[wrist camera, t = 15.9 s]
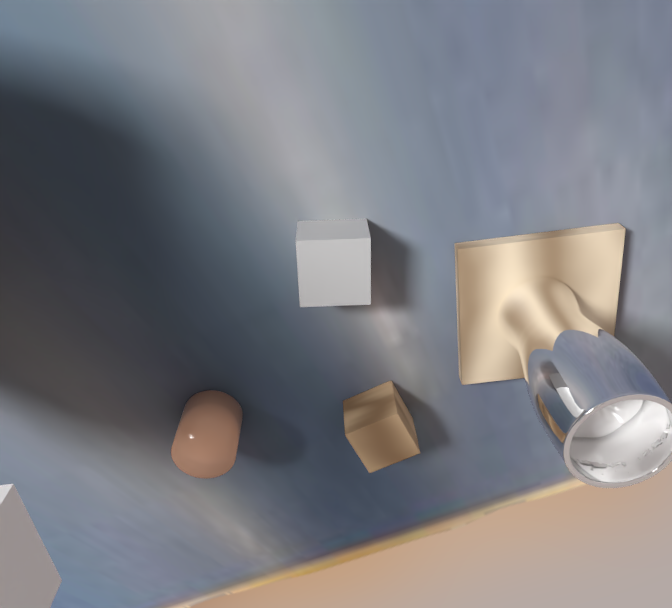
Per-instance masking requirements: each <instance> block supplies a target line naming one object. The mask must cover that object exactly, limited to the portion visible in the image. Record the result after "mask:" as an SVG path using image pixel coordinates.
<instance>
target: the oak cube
mask: <svg viewBox="0 0 672 608" xmlns="http://www.w3.org/2000/svg"><path fill="white" fill-rule="evenodd" d="M343 410H344V427H345V436H346V437H347V439H348V440H349V442H350V444H351V445H352V447H353V448H354V450H355V451H356V453H357V454H358V456H359V458H360V459H361V461H362V462H363V464H364V465H365V467H366V468H367V470H368V471H369V473H372V472H374V471H377V470H379V469H382V468H384V467H387V466H389V465H392V464H394V463H397V462H399V461H402V460H404V459H407V458H409V457H412V456H414V455H417V454H419V453H420V449H419V445H418V440H417V435H416V431H415V426H414V422H413V418H412V416H411V414H410V413H409V411H408V409H407V407H406V406H405V404H404V402H403V400H402V398H401V397H400V395H399V393H398V391H397V390H396V388H395V386H394V384H393V383H392V381H388V382H386V383H384V384H381V385H379V386H376V387H374V388H372V389H369V390H367V391H365V392H362V393H360V394H358V395H355V396H353V397H351V398H348V399H346V400H344V401H343Z"/></svg>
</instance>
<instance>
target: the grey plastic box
mask: <svg viewBox="0 0 672 608" xmlns="http://www.w3.org/2000/svg"><path fill="white" fill-rule="evenodd" d="M296 253H297V269H298V284H299V300H300V307H318V306H345V305H371V237H370V232H369V227H368V223H367V219H339V220H311V221H297V232H296Z"/></svg>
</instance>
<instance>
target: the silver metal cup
mask: <svg viewBox="0 0 672 608" xmlns="http://www.w3.org/2000/svg"><path fill="white" fill-rule="evenodd" d="M497 322H498V327H499V330H500V332H501V334H502V335H503V337H504V338H505V339H506V340H507V341H508V342H509V343H510V344H511V345H512V346H513V347H514V348H515V349H516V351H517V352H518V354H519V356H520V360H521V364H522V368H523V373H524V378H525V382H526V387H527V391H528V394H529V397H530V400H531V404H532V406H533V409H534V411H535V413H536V415H537V417H538V420H539V422H540V423H541V425H542V427H543V429H544V431H545V432H546V434H547V436H548V438H549V439H550V441H551V442H552V444H553V445H554V447H555V448H556V450H557V451H558V453H559V454H560V456H561V457H562V459H563V460H564V462H565V464H566V466H567V468H568V470H569V471H570V472H571V473H572V474H573V475H574V476H575V477H576V478H577V479H579V480H580V481H582V482H584V483H586V484H589V485H592V486H596V487H602V488H619V487H625V486H630V485H633V484H637V483H639V482H642V481H644V480H646V479H648V478H650V477H652V476H654V475H656V474H657V473H659V472H660V471H661V470H663V469H664V468H665V467H666V466H667V465H668V464H669V463H670V462H671V461H672V402H671V401H670V399H669V398H668V396H667V395H666V393H665V392H664V390H663V389H662V387H661V386H660V385H659V383H658V382H657V380H656V379H655V378H654V376H653V375H652V374H651V372H650V371H649V370H648V369H647V367H646V366H645V365H644V364H643V363H642V362H641V361H640V360H639V358H638V357H637V356H636V355H635V354H634V353H633V352H632V351H631V350H630V349H629V348H627V347H626V346H625V345H624V344H623V343H621V342H620V341H619V340H618V339H616V338H615V337H614V336H612V335H611V334H610V333H608V332H607V331H605V330H604V329H602V328H601V327H599V326H598V325H596V324H595V323H594V322H592V321H591V320H589V319H588V318H587V317H586V316H585V315H584V314H583V313H582V311H581V309H580V306H579V304H578V301H577V299H576V296H575V294H574V293H573V291H572V290H571V289H570V288H569V287H568V286H567V285H565V284H564V283H562V282H560V281H558V280H556V279H552V278H535V279H531V280H527V281H525V282H523V283H521V284H519V285H517V286H516V287H514V288H513V289H512V290H511V291H510V292H509V293H508V294H507V295H506V296H505V297H504V299H503V300H502V302H501V304H500V306H499V309H498V314H497Z"/></svg>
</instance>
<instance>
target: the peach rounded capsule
mask: <svg viewBox="0 0 672 608" xmlns="http://www.w3.org/2000/svg"><path fill="white" fill-rule="evenodd" d="M242 419H243V412H242V408H241V406H240V404H239V403H238V402H237V401H236V400H235V399H234V398H233V397H232V396H230V395H228V394H226V393H224V392H220V391H215V390H208V391H202V392H199V393H197V394H195V395H193V396H192V397H191V398H190V399H189V400H188V401H187V402H186V404H185V407H184V410H183V413H182V416H181V420H180V423H179V426H178V429H177V432H176V435H175V438H174V441H173V444H172V448H171V456H172V459H173V461H174V463H175V464H176V466H177V467H178V468H179V469H180V470H182V471H183V472H185V473H186V474H188V475H191V476H194V477H198V478H214V477H218V476H221V475H223V474H225V473H226V472H228V471H229V470H230V469H231V468H232V466H233V464H234V462H235V459H236V453H237V447H238V442H239V436H240V430H241V425H242Z"/></svg>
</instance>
